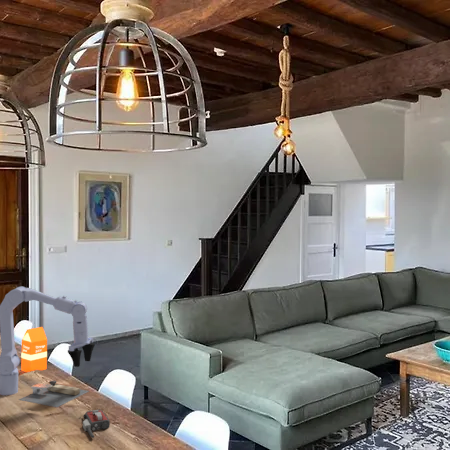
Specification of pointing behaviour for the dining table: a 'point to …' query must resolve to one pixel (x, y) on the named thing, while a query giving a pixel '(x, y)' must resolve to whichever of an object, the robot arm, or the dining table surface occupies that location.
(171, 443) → the dining table surface
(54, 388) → the link
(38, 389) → the block
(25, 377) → the dining table surface
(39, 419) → the dining table surface
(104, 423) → the walkie-talkie
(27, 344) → the orange juice
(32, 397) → the board
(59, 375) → the dining table surface
